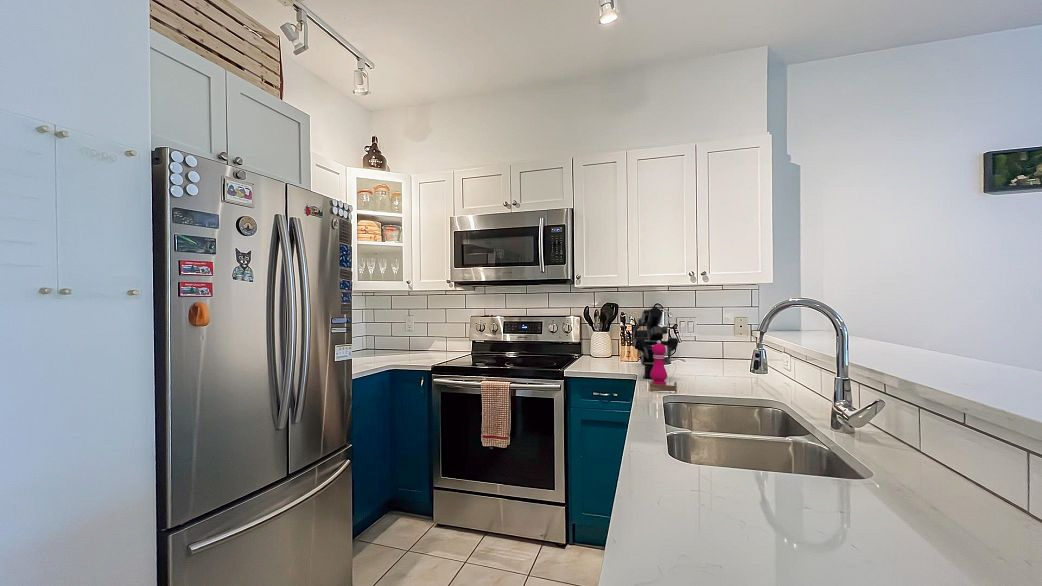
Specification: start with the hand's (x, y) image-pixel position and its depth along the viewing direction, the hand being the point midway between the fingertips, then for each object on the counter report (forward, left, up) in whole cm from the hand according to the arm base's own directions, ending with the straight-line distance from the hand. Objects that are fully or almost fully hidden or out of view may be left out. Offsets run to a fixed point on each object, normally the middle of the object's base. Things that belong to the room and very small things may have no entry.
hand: (658, 358), depth 194 cm
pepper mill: (0, 0, -12) cm, 12 cm away
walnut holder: (+8, +3, -12) cm, 15 cm away
